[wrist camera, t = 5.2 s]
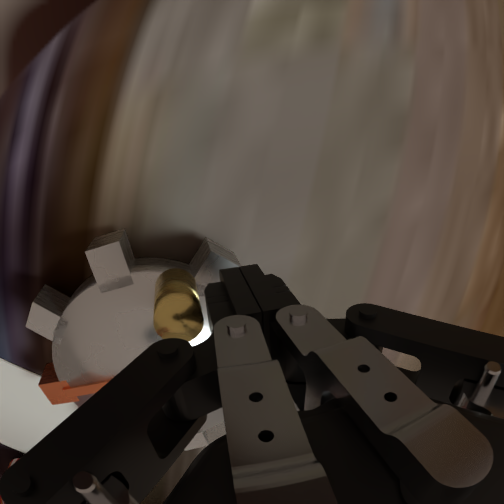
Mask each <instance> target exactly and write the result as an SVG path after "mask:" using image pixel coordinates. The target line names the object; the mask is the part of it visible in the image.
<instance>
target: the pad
mask: <svg viewBox="0 0 504 504" xmlns="http://www.w3.org/2000/svg"><path fill="white" fill-rule="evenodd" d="M40 379H41V376H40V375H38V374H36V373H33V372H31V371H28V370H26V369H24V368H21V367H19V366H17V365H15V364H12V363H10V362H8V361H6V360H4V359H2V358H0V443H2V444H4V445H6V446H9V447H11V448H13V449H16V450H18V451H20V452H23V453H25V454H26V453H27V452H28V451H29V450H30V449H31V448H32V447H34V446H35V445H36V444H37V443H38V442H39V441H41V440H42V439H43V438H44V437H45V436H46V435H48V434H49V433H50V432H51V431H52V430H53V429H55V428H56V427H57V426H58V425H59V424H60V423H61V422H63V421H64V420H65V419H66V418H67V417H68V416H70V415H71V414H72V413H73V412H74V411H75V410H77V409H78V408H79V407H78V406H77V405H76V404H75V403H74V402H70V403H64V404H57V405H52V404H51V402H50V401H49V400H48V398H47V397H46V396H45V394H44V393H43V391H42V390H41V389H40V387H39V386H38V384H39V382H40Z"/></svg>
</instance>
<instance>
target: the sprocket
mask: <svg viewBox="0 0 504 504" xmlns="http://www.w3.org/2000/svg"><path fill="white" fill-rule="evenodd" d="M85 254H86V256H87V259H88V262H89V264H90V267H91V270H92V272H93V275H91V276H90V277H89V278H87V279H86V280H85V281H84V282H83V283H82V284H81V285H80V286H79V287H78V288H77V289H76V291H75V292H74V293H73V295H72V296H71V297H69V296H67V295H65V294H63V293H61V292H59V291H58V290H56V289H54V288H52V287H50V286H49V285H47V284H45V285H44V287H43V288H42V289H41V291H40V292H39V293H38V295H37V296H36V298H35V299H34V301H33V302H32V306H31V309H30V313H29V316H28V320H27V324H26V327H27V328H29V329H31V330H32V331H34V332H36V333H38V334H40V335H42V336H43V337H45V338H47V339H49V340H51V341H52V358H53V362H52V363H47V364H46V366H45V369H44V371H43V374H42V376H41V379H40V382H39V384H38V386H39V387H40V389H41V390H42V391H43V393H44V394H45V396H46V397H47V398H48V400H49V401H50V402H51V404H52V405H57V404H64V403H70V402H74V403H75V404H76V405H77V406H78V407H80V406H81V405H82V404H83V403H85V402H86V401H87V400H88V399H89V398H90V397H92V396H93V395H94V394H95V393H96V392H97V391H98V390H100V389H101V388H102V387H103V386H104V385H105V384H107V383H108V382H109V381H110V380H111V379H112V378H113V377H115V376H116V375H117V374H118V373H119V372H120V371H122V370H123V369H124V368H125V367H126V366H127V365H128V364H130V363H131V362H132V361H133V360H134V359H135V358H137V357H138V356H139V355H140V354H141V353H142V352H143V351H145V350H146V349H147V348H148V347H149V346H150V345H152V344H153V343H155V342H157V341H159V340H162V339H167V338H180V339H184V340H186V341H188V342H189V343H190V344H191V345H192V346H194V345H197V344H199V343H201V342H203V341H205V340H206V339H207V338H208V337H209V336H210V335H211V332H210V327H209V323H208V315H207V308H206V301H205V293H204V290H205V288H206V286H207V285H208V283H215V282H220V278H219V269H226V268H233V267H240V266H241V264H240V263H239V261H238V259H237V258H236V256H235V254H234V252H232V251H230V250H228V249H226V248H225V247H223V246H221V245H219V244H217V243H215V242H214V241H212V240H210V239H208V238H206V237H205V239H204V241H203V242H202V244H201V246H200V247H199V249H198V251H197V252H196V254H195V256H194V257H193V259H192V261H191V262H190V264H187V263H184V262H180V261H177V260H171V259H165V258H137V259H135V257H134V254H133V251H132V248H131V245H130V242H129V239H128V236H127V233H126V230H125V228H124V229H121V230H118V231H114V232H111V233H108V234H105V235H102V236H98V237H95V238H94V239H93V241H92V242H91V243H90V245H89V246H88V248H87V249H86V251H85ZM222 422H224V416H223V408H220V409H218V410H215V411H213V412H211V413H209V414H207V420H206V422H205V423H204V425H203V426H202V427H201V429H200V430H199V431H198V433H197V434H196V435H195V436H194V438H193V439H192V440H191V442H190V443H189V444H188V445H187V447H186V448H185V449H184V450H185V451H186V450H190V449H195V448H199V447H204V446H208V445H209V444H208V439H207V434H206V430H208V429H211V428H213V427H215V426H217V425H219V424H221V423H222Z"/></svg>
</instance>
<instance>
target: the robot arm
mask: <svg viewBox="0 0 504 504" xmlns="http://www.w3.org/2000/svg"><path fill="white" fill-rule="evenodd" d="M219 278H220V282H215V283H208V285H207V286H206V288H205V290H204V293H205V301H206V308H207V315H208V323H209V327H210V332H211V335H210V336H209V337H208V338H207V339H206V340H205V341H203V342H201V343H199V344H197V345H194V346H192V345H191V344H190V343H189V342H188V341H186V340H184V339H180V338H167V339H162V340H159V341H157V342H155V343H153V344H152V345H150V346H149V347H148V348H147V349H146V350H145V351H143V352H142V353H141V354H140V355H139V356H138V357H137V358H135V359H134V360H133V361H132V362H131V363H130V364H128V365H127V366H126V367H125V368H124V369H123V370H122V371H120V372H119V373H118V374H117V375H116V376H115V377H113V378H112V379H111V380H110V381H109V382H108V383H107V384H105V385H104V386H103V387H102V388H101V389H100V390H98V391H97V392H96V393H95V394H94V395H93V396H92V397H90V398H89V399H88V400H87V401H86V402H85V403H83V404H82V405H81V406H80V407H79V408H78V409H77V410H75V411H74V412H73V413H72V414H71V415H70V416H68V417H67V418H66V419H65V420H64V421H63V422H61V423H60V424H59V425H58V426H57V427H56V428H55V429H53V430H52V431H51V432H50V433H49V434H48V435H46V436H45V437H44V438H43V439H42V440H41V441H39V442H38V443H37V444H36V445H35V446H34V447H32V448H31V449H30V450H29V451H28V452H27V453H26V454H24V455H23V456H22V457H21V458H20V459H19V460H17V461H16V462H15V463H14V464H13V465H12V466H10V467H9V468H8V469H7V470H6V471H5V472H4V474H3V476H2V478H1V480H0V495H1V498H2V500H3V502H4V503H5V504H140V503H141V502H142V501H143V499H144V498H145V497H146V496H147V495H148V494H149V492H150V491H151V490H152V489H153V488H154V486H155V485H156V484H157V483H158V482H159V480H160V479H161V478H162V477H163V475H164V474H165V473H166V472H167V471H168V469H169V468H170V467H171V466H172V464H173V463H174V462H175V461H176V459H177V458H178V457H179V456H180V454H181V453H182V452H183V451H184V449H185V448H186V447H187V445H188V444H189V443H190V442H191V440H192V439H193V438H194V436H195V435H196V434H197V433H198V431H199V430H200V429H201V427H202V426H203V425H204V423H205V422H206V420H207V414H209V413H211V412H213V411H215V410H218V409H220V408H223V416H224V423H225V430H226V435H224V436H222V437H220V438H218V439H216V440H215V441H214V442H212V443H211V444H209V445H208V446H207V447H206V448H205V449H203V450H202V451H201V452H200V453H199V455H198V456H197V457H196V458H195V459H194V461H193V462H192V463H191V465H190V466H189V468H188V469H187V471H186V472H185V473H184V475H183V476H182V478H181V479H180V481H179V482H178V483H177V485H176V486H175V488H174V489H173V490H172V492H171V493H170V495H169V496H168V497H167V499H166V500H165V501H164V503H163V504H504V337H501V336H497V335H493V334H489V333H484V332H480V331H476V330H472V329H468V328H464V327H460V326H456V325H452V324H448V323H444V322H440V321H436V320H432V319H428V318H424V317H420V316H416V315H412V314H409V313H405V312H401V311H397V310H393V309H389V308H385V307H382V306H378V305H374V304H366V303H363V304H356V305H353V306H351V307H350V308H349V309H348V310H347V312H346V319H325V317H324V316H323V315H322V314H321V313H320V312H319V311H317V310H316V309H315V308H313V307H310V306H307V305H301V304H300V303H299V301H298V300H297V299H296V297H295V296H294V295H293V294H292V292H291V291H290V290H289V288H288V287H287V286H286V284H285V283H284V282H283V280H282V279H281V278H279V277H277V276H275V275H273V274H268V275H264V273H263V272H262V271H261V269H260V268H259V266H258V265H257V264H254V265H247V266H240V267H233V268H226V269H219ZM383 347H384V348H388V349H391V350H395V351H398V352H402V353H405V354H409V355H412V356H415V357H417V358H418V359H419V360H420V362H421V370H419V371H410V370H406V369H403V368H399V367H396V366H395V365H394V364H393V363H391V362H390V361H389V360H388V359H387V358H386V357H385V356H384V355H383V354H382V349H383Z"/></svg>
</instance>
